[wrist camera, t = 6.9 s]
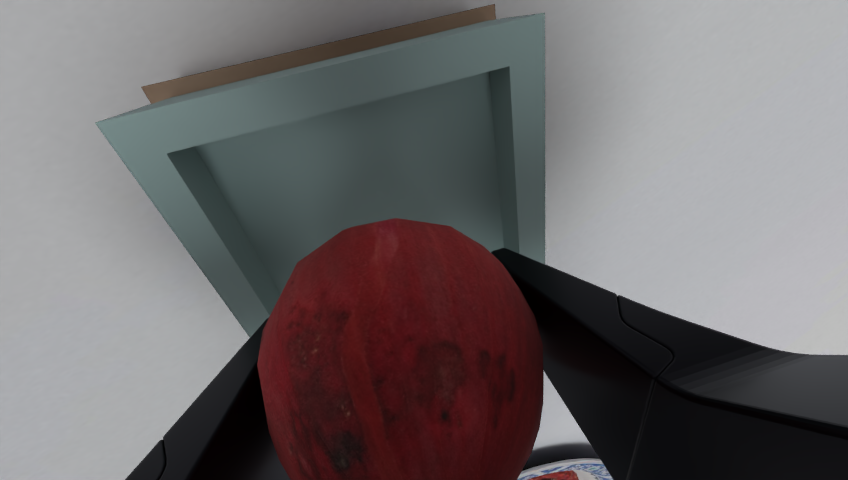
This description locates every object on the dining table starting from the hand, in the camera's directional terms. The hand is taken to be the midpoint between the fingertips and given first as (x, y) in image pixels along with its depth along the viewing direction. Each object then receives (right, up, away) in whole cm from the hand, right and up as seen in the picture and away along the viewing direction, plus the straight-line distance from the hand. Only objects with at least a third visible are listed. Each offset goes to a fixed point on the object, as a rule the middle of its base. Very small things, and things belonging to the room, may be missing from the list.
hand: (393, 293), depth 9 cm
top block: (-1, +3, +5) cm, 6 cm away
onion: (0, +1, +2) cm, 2 cm away
